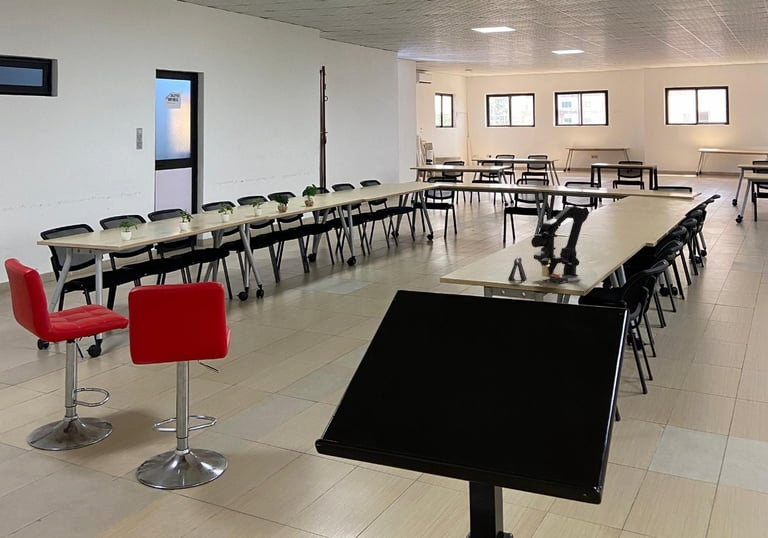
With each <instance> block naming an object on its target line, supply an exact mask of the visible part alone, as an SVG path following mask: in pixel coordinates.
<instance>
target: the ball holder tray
mask: <svg viewBox="0 0 768 538" xmlns="http://www.w3.org/2000/svg"><path fill="white" fill-rule="evenodd" d="M548 278H549V279H548V280H546V282H547V283H550V284H554V285H559V283H561V284H568V283H574V282H579V281H580V279H579V278H580V277H579V276H571V275H565V276H564V275H560V278H553V276H552V277H548Z"/></svg>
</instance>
